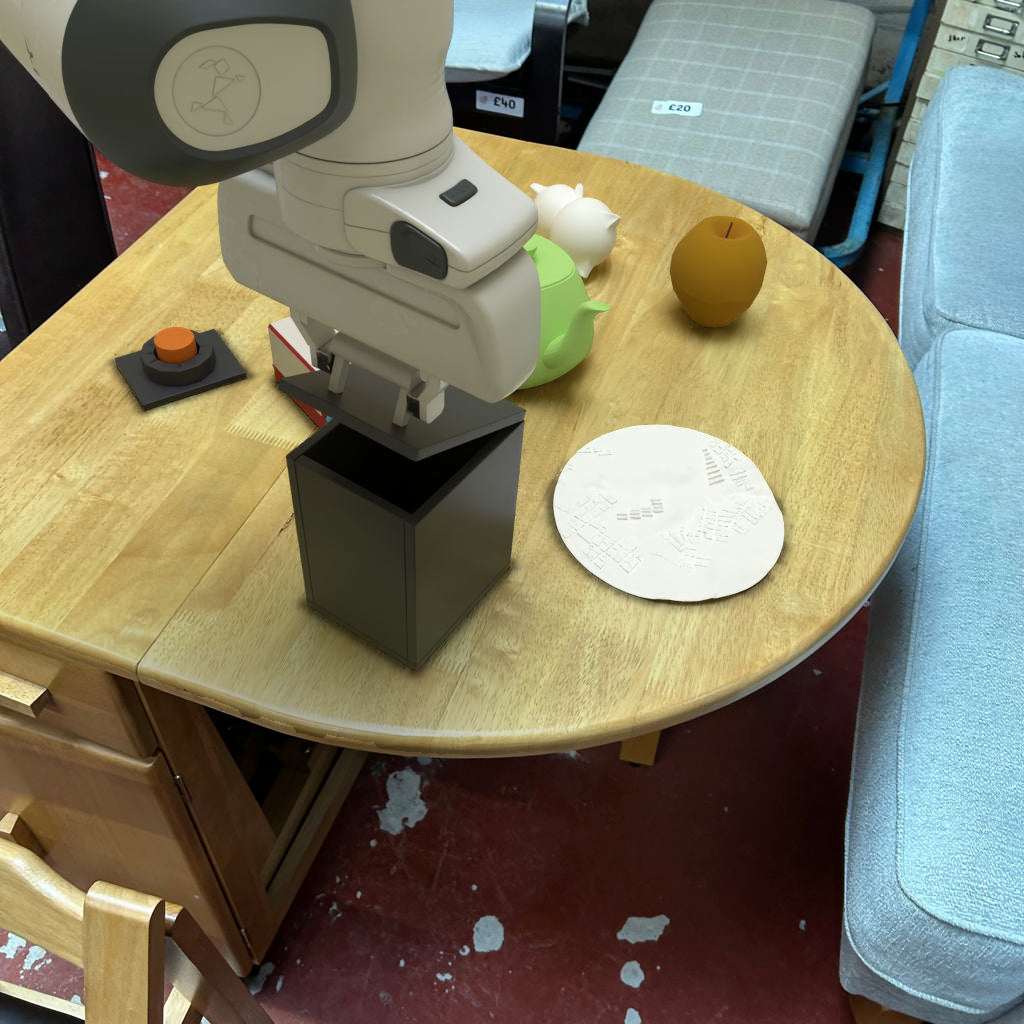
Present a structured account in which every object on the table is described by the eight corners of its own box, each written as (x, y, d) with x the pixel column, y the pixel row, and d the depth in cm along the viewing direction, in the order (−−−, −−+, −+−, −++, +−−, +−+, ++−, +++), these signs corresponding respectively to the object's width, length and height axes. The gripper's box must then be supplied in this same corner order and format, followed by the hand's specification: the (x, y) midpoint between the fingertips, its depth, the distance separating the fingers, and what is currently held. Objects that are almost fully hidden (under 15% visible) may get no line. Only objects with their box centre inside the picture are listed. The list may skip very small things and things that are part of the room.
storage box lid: (415, 462, 55) (434, 389, 53) (277, 389, 58) (290, 318, 56) (524, 420, 66) (543, 358, 64) (402, 361, 70) (417, 301, 68)
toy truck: (356, 470, 84) (352, 412, 79) (274, 380, 92) (266, 322, 87) (408, 446, 87) (407, 389, 82) (324, 361, 94) (318, 304, 90)
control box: (144, 410, 88) (138, 389, 86) (115, 363, 92) (109, 342, 90) (247, 377, 92) (243, 356, 90) (215, 333, 96) (211, 313, 94)
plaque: (658, 404, 92) (660, 393, 91) (828, 525, 83) (833, 513, 82) (505, 506, 83) (505, 494, 82) (678, 654, 74) (681, 643, 73)
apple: (643, 315, 103) (662, 217, 95) (695, 283, 109) (718, 187, 100) (716, 357, 99) (743, 257, 91) (767, 321, 104) (797, 224, 96)
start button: (165, 369, 89) (161, 353, 87) (152, 348, 91) (148, 333, 89) (202, 357, 90) (199, 342, 89) (188, 337, 92) (185, 322, 91)
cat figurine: (537, 156, 107) (603, 201, 100) (594, 187, 115) (659, 230, 108) (499, 227, 110) (561, 275, 103) (558, 252, 118) (618, 298, 111)
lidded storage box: (416, 672, 70) (414, 527, 59) (306, 604, 74) (284, 455, 62) (510, 566, 78) (525, 419, 66) (406, 510, 81) (403, 361, 70)
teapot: (646, 394, 94) (671, 279, 85) (526, 450, 87) (538, 333, 78) (512, 286, 106) (520, 175, 96) (397, 329, 99) (394, 213, 89)
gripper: (169, 137, 50) (215, 351, 60) (494, 274, 43) (484, 490, 53) (255, 97, 53) (285, 304, 63) (567, 217, 46) (544, 428, 56)
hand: (377, 390), depth 58 cm, fingers closed on storage box lid, 6 cm apart
